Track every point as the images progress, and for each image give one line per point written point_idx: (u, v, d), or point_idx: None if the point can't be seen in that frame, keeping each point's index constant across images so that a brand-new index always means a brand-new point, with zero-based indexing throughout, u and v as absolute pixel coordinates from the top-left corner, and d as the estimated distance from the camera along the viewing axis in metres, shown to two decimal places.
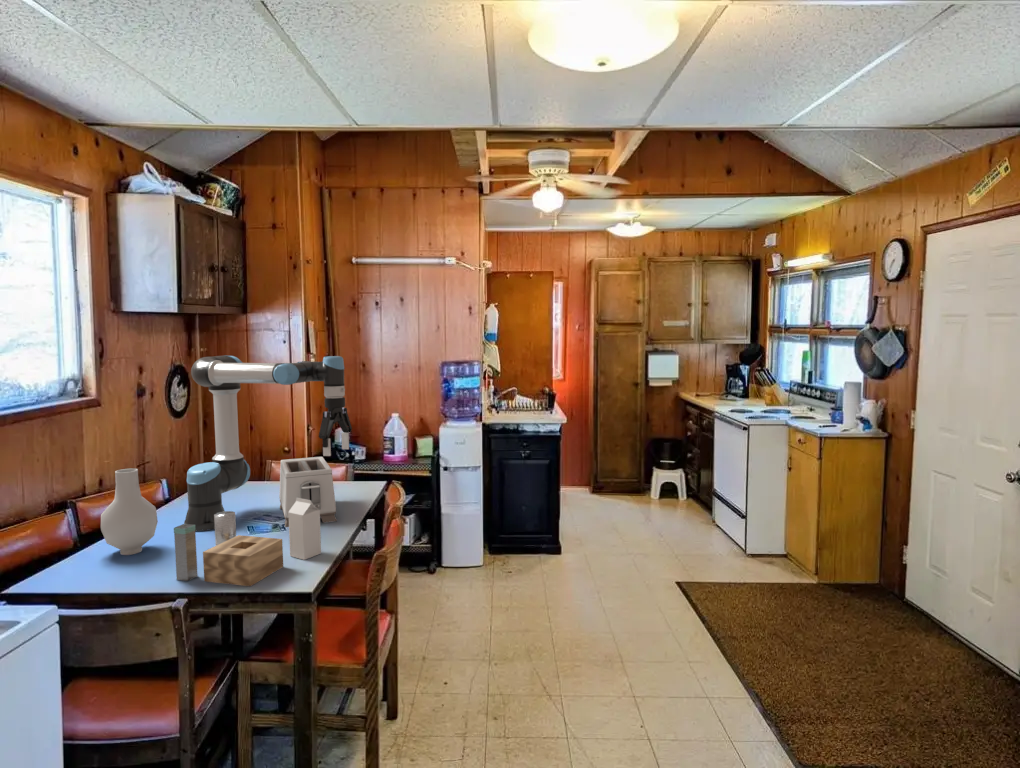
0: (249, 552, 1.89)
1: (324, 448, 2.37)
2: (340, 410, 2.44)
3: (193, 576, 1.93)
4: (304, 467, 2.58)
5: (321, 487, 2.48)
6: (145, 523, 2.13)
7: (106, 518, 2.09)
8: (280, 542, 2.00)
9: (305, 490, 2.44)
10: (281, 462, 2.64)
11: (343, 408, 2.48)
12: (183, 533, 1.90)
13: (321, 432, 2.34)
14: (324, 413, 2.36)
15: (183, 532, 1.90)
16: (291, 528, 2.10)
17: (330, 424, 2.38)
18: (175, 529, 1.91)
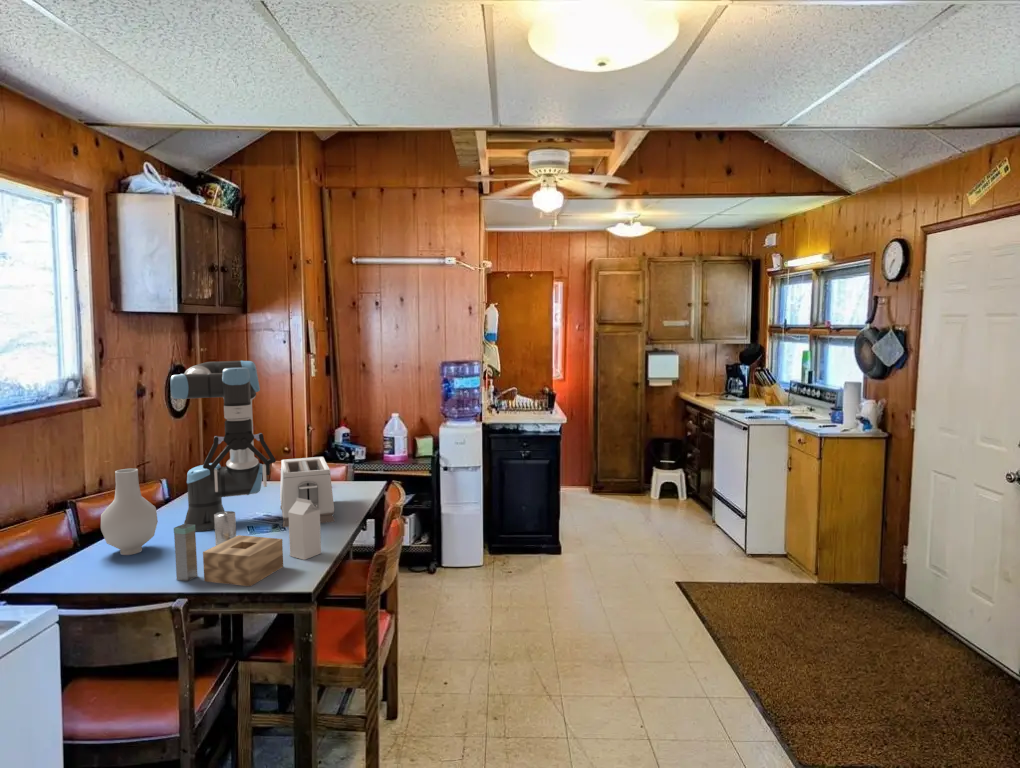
0: (249, 552, 1.89)
1: None
2: (246, 436, 1.93)
3: (193, 576, 1.93)
4: (303, 467, 2.58)
5: (319, 487, 2.48)
6: (145, 523, 2.13)
7: (106, 518, 2.09)
8: (280, 542, 2.00)
9: (303, 490, 2.44)
10: (281, 462, 2.65)
11: (258, 434, 1.95)
12: (183, 533, 1.90)
13: (205, 461, 1.90)
14: (214, 438, 1.90)
15: (183, 532, 1.90)
16: (291, 528, 2.10)
17: (221, 452, 1.91)
18: (175, 529, 1.91)
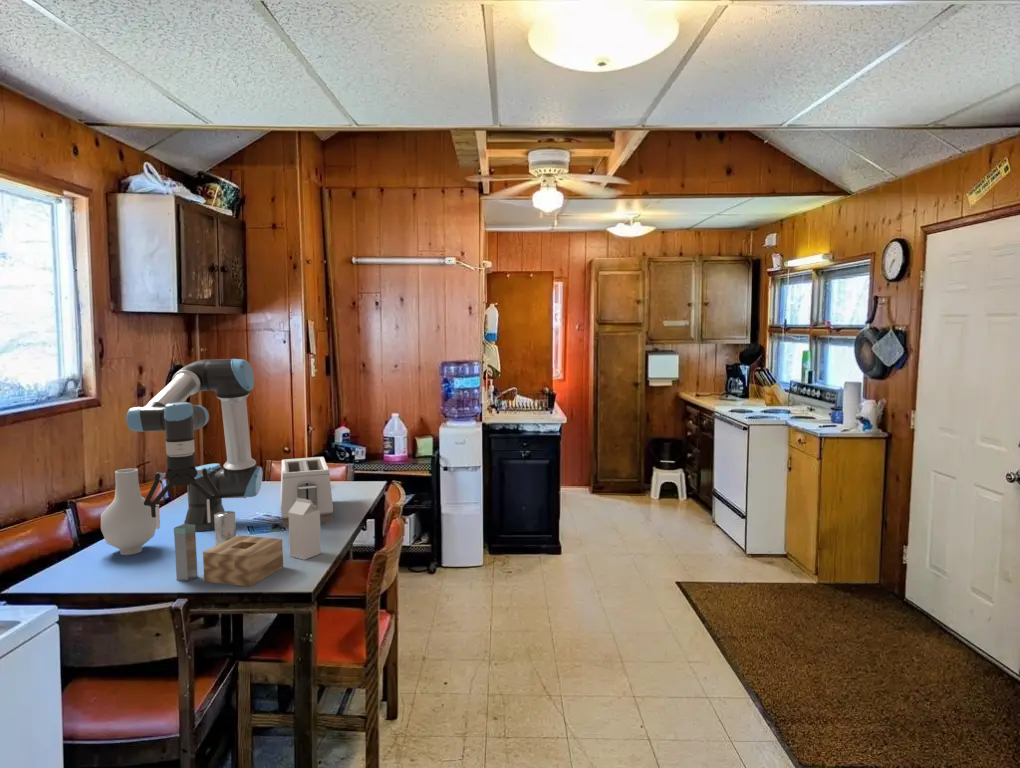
0: (249, 552, 1.89)
1: None
2: (188, 472, 1.91)
3: (193, 576, 1.93)
4: (303, 467, 2.58)
5: (318, 487, 2.48)
6: (145, 523, 2.13)
7: (106, 518, 2.09)
8: (280, 542, 2.00)
9: (302, 490, 2.44)
10: None
11: (202, 469, 1.93)
12: (183, 533, 1.90)
13: (146, 497, 1.87)
14: None
15: (183, 532, 1.90)
16: (291, 528, 2.10)
17: (163, 489, 1.88)
18: (175, 529, 1.91)
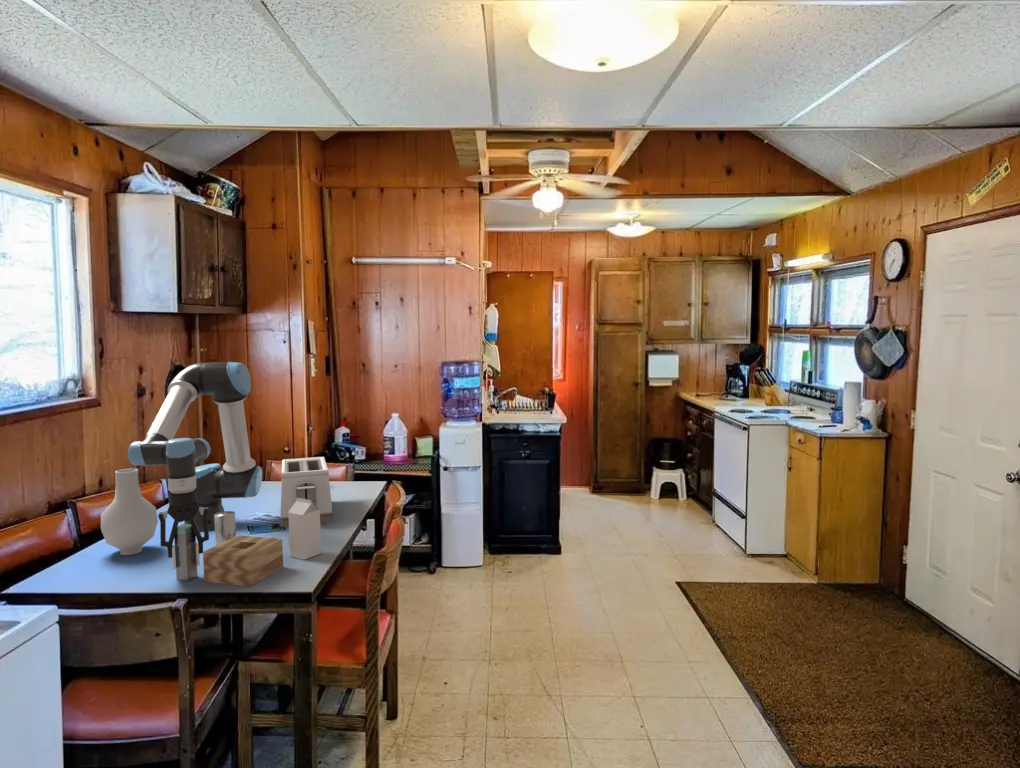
0: (249, 552, 1.89)
1: None
2: (191, 506, 1.92)
3: (193, 576, 1.93)
4: (303, 467, 2.58)
5: (317, 488, 2.47)
6: (145, 523, 2.13)
7: (106, 518, 2.09)
8: (280, 542, 2.00)
9: (301, 490, 2.44)
10: (282, 462, 2.65)
11: (204, 508, 1.94)
12: (183, 533, 1.90)
13: None
14: None
15: (183, 532, 1.90)
16: (291, 528, 2.10)
17: (172, 528, 1.90)
18: None
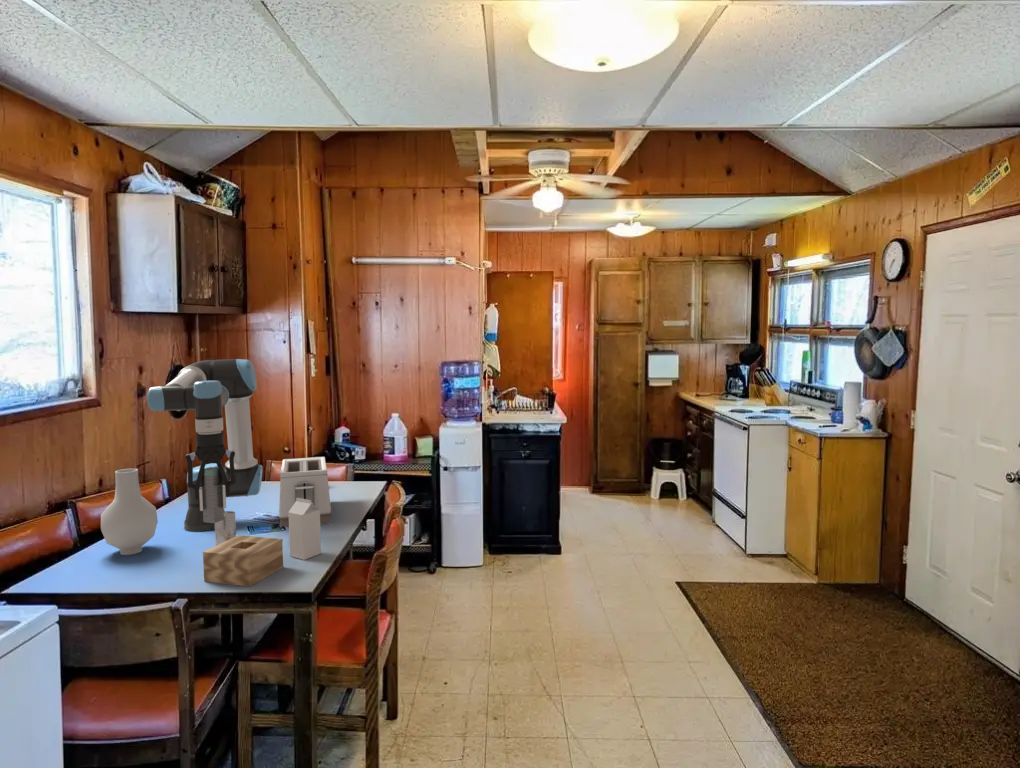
0: (249, 552, 1.89)
1: None
2: (218, 448, 1.91)
3: (220, 519, 1.93)
4: (302, 467, 2.58)
5: (316, 488, 2.47)
6: (145, 523, 2.13)
7: (106, 518, 2.09)
8: (280, 542, 2.00)
9: (299, 490, 2.44)
10: (282, 462, 2.65)
11: (231, 451, 1.94)
12: (210, 475, 1.90)
13: None
14: None
15: (210, 474, 1.90)
16: (291, 528, 2.10)
17: (199, 469, 1.90)
18: None
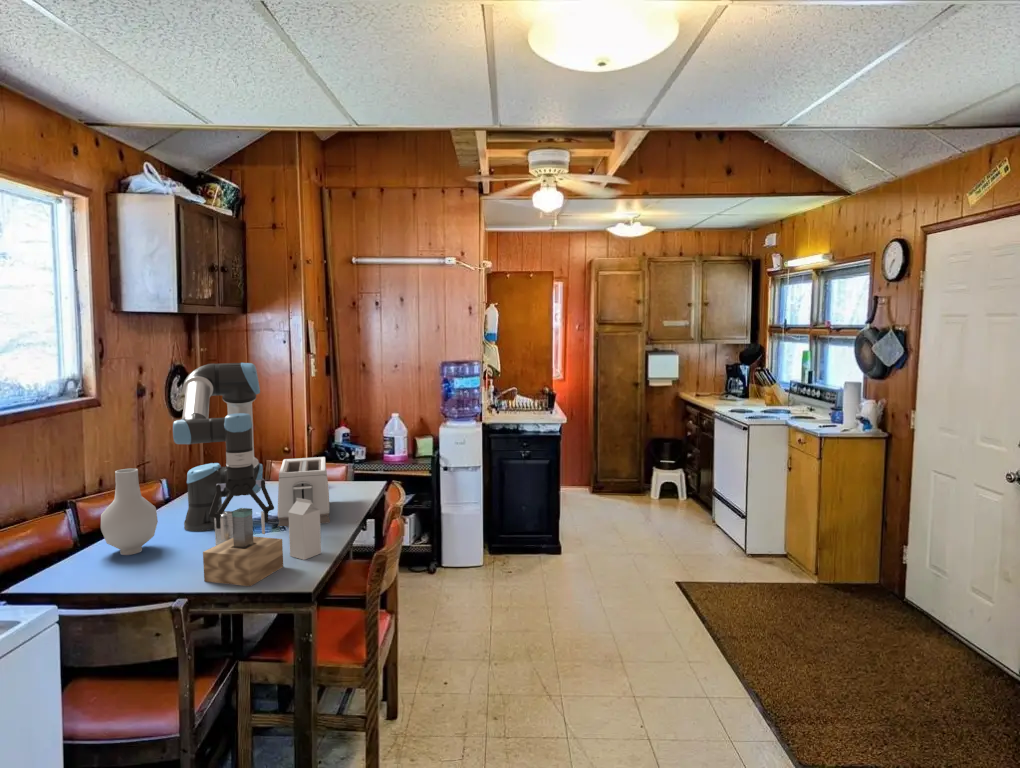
0: (249, 552, 1.89)
1: None
2: (248, 481, 1.94)
3: None
4: (302, 467, 2.58)
5: (314, 488, 2.47)
6: (145, 523, 2.13)
7: (106, 518, 2.09)
8: (280, 542, 2.00)
9: (297, 491, 2.44)
10: None
11: (260, 480, 1.96)
12: (241, 516, 1.93)
13: (210, 509, 1.91)
14: (216, 486, 1.92)
15: (242, 515, 1.93)
16: (291, 528, 2.10)
17: (225, 500, 1.92)
18: (233, 513, 1.93)
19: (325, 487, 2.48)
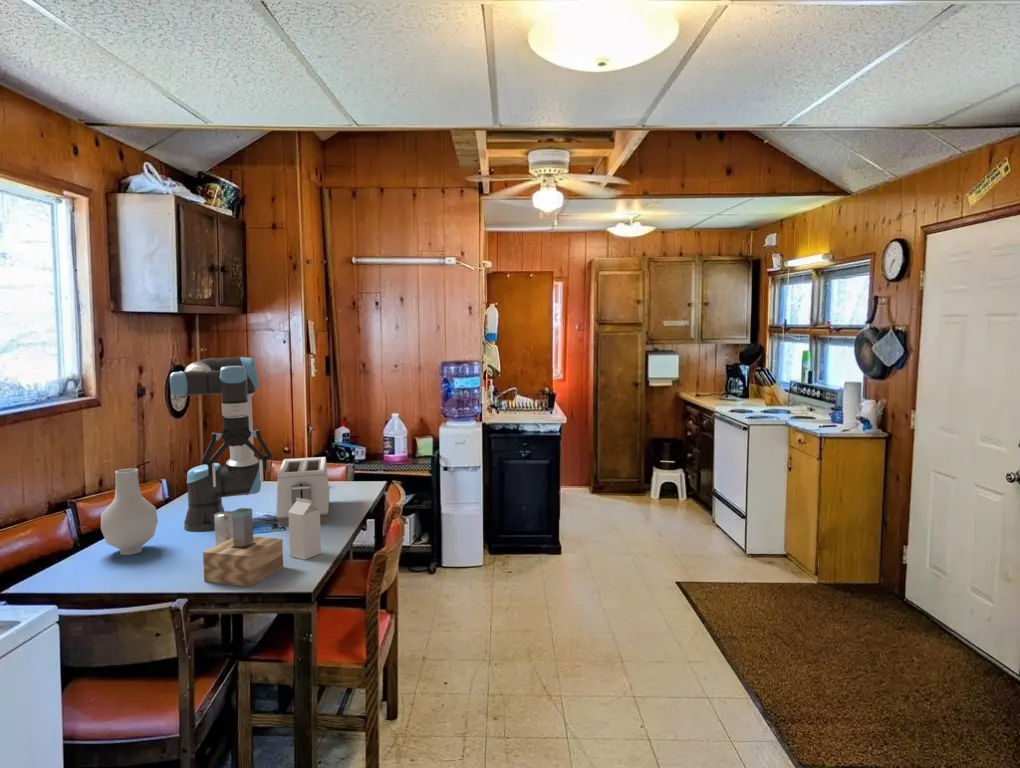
0: (249, 552, 1.89)
1: None
2: (243, 433, 1.98)
3: None
4: (301, 467, 2.58)
5: (313, 488, 2.47)
6: (145, 523, 2.13)
7: (106, 518, 2.09)
8: (280, 542, 2.00)
9: (296, 491, 2.44)
10: None
11: (255, 430, 2.00)
12: (241, 516, 1.93)
13: (203, 457, 1.95)
14: (212, 434, 1.96)
15: (242, 515, 1.93)
16: (291, 528, 2.10)
17: (219, 448, 1.96)
18: (233, 513, 1.93)
19: (324, 487, 2.48)
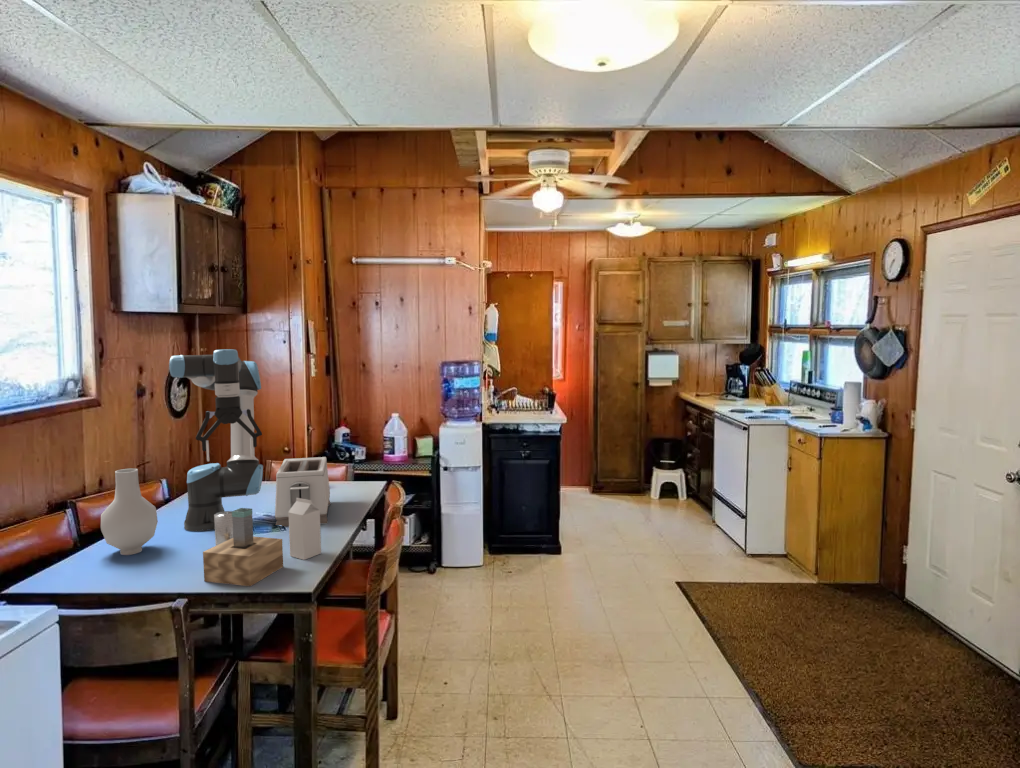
0: (249, 552, 1.89)
1: None
2: (234, 411, 2.13)
3: None
4: (301, 467, 2.58)
5: (312, 488, 2.46)
6: (145, 523, 2.13)
7: (106, 518, 2.09)
8: (280, 542, 2.00)
9: (295, 491, 2.44)
10: (283, 461, 2.66)
11: (246, 409, 2.15)
12: (241, 516, 1.93)
13: None
14: None
15: (242, 515, 1.93)
16: (291, 528, 2.10)
17: (212, 426, 2.11)
18: (233, 513, 1.93)
19: (322, 487, 2.47)
